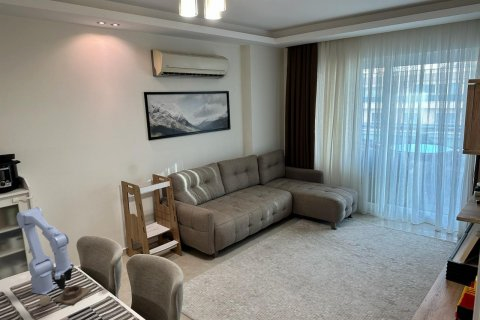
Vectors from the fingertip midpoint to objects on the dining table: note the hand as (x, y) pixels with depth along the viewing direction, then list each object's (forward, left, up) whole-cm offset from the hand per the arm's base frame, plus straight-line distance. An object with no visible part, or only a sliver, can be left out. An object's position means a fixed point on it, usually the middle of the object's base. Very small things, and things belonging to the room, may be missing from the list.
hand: (65, 284), depth 156 cm
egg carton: (-27, +17, -10) cm, 34 cm away
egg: (-9, -5, -7) cm, 12 cm away
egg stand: (-1, +4, -9) cm, 10 cm away
